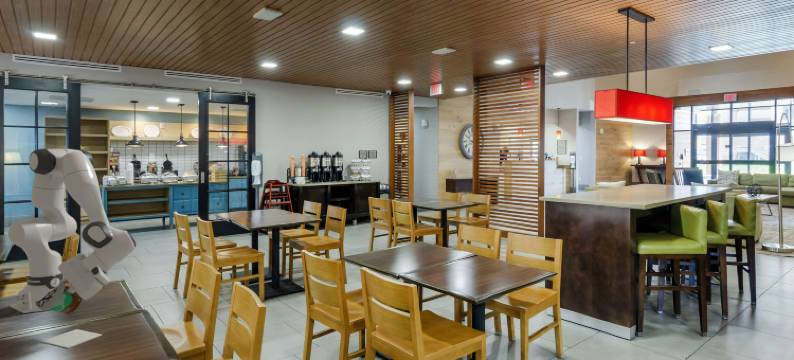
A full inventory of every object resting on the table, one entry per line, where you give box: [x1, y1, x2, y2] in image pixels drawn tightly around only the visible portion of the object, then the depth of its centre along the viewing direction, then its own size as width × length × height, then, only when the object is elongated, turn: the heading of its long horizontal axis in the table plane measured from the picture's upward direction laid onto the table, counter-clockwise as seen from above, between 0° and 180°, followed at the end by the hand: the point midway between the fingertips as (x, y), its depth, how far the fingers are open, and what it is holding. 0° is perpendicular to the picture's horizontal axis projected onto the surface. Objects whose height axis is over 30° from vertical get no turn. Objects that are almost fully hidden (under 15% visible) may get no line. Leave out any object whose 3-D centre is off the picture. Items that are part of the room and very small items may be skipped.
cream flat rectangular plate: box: [41, 328, 103, 349], centre depth 164 cm, size 14×12×1 cm
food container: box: [35, 283, 83, 315], centre depth 165 cm, size 12×6×10 cm
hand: (58, 293), depth 165 cm, fingers open, 2 cm apart
